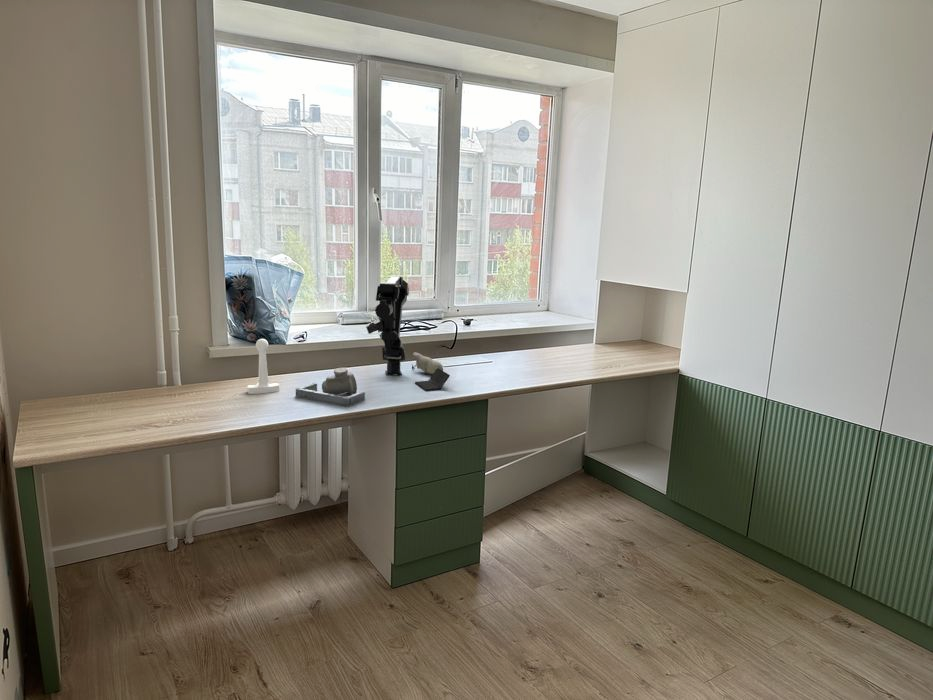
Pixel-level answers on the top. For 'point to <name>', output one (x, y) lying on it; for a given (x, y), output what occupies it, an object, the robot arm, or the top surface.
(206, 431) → the top surface
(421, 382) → the handheld gaming console
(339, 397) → the duct bracket
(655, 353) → the top surface
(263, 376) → the joystick
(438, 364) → the decorative bird
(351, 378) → the pipe fitting
